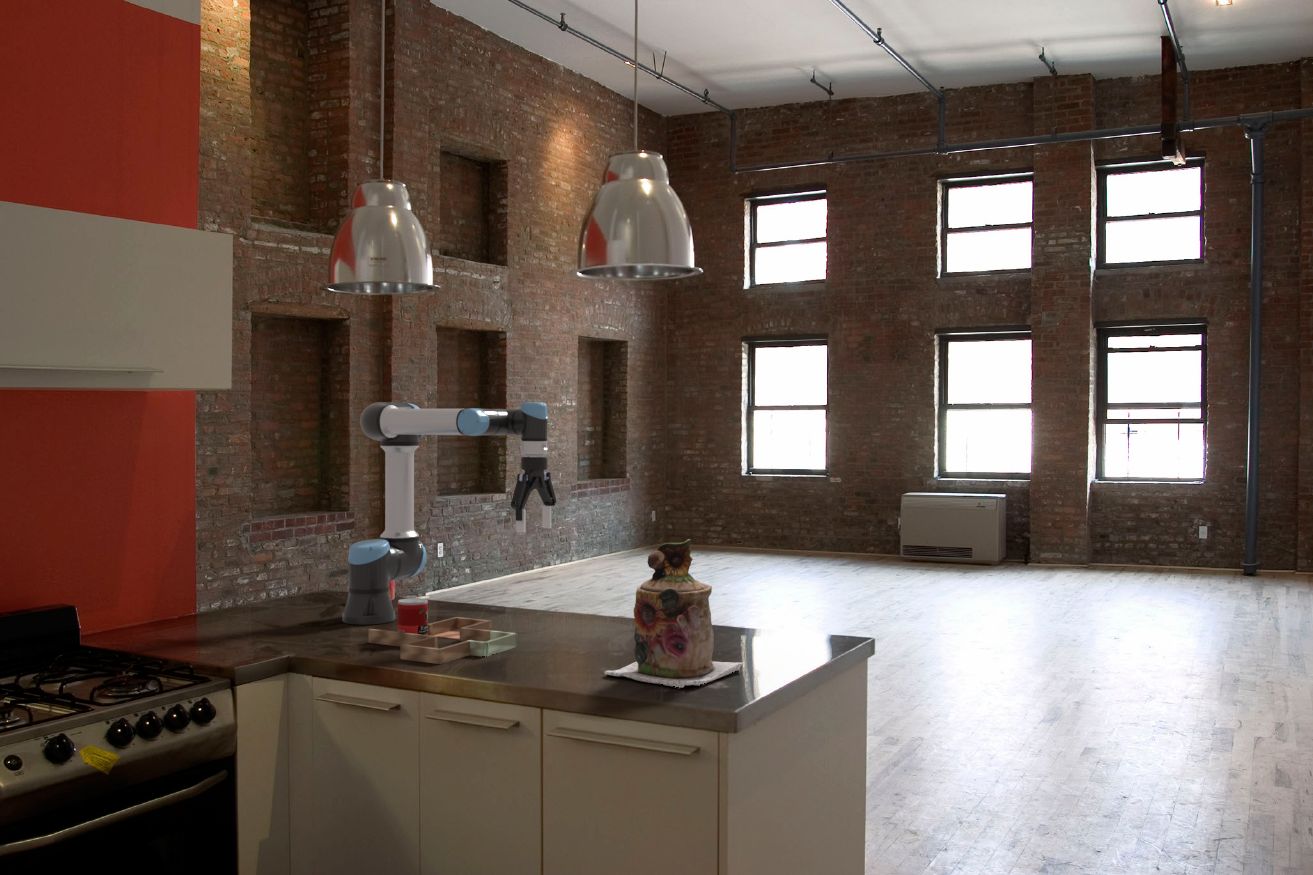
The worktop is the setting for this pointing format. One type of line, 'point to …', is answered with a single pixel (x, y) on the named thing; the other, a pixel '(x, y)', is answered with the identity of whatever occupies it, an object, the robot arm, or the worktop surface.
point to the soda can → (392, 589)
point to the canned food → (413, 616)
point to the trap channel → (464, 629)
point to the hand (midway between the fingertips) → (534, 530)
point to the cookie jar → (673, 625)
